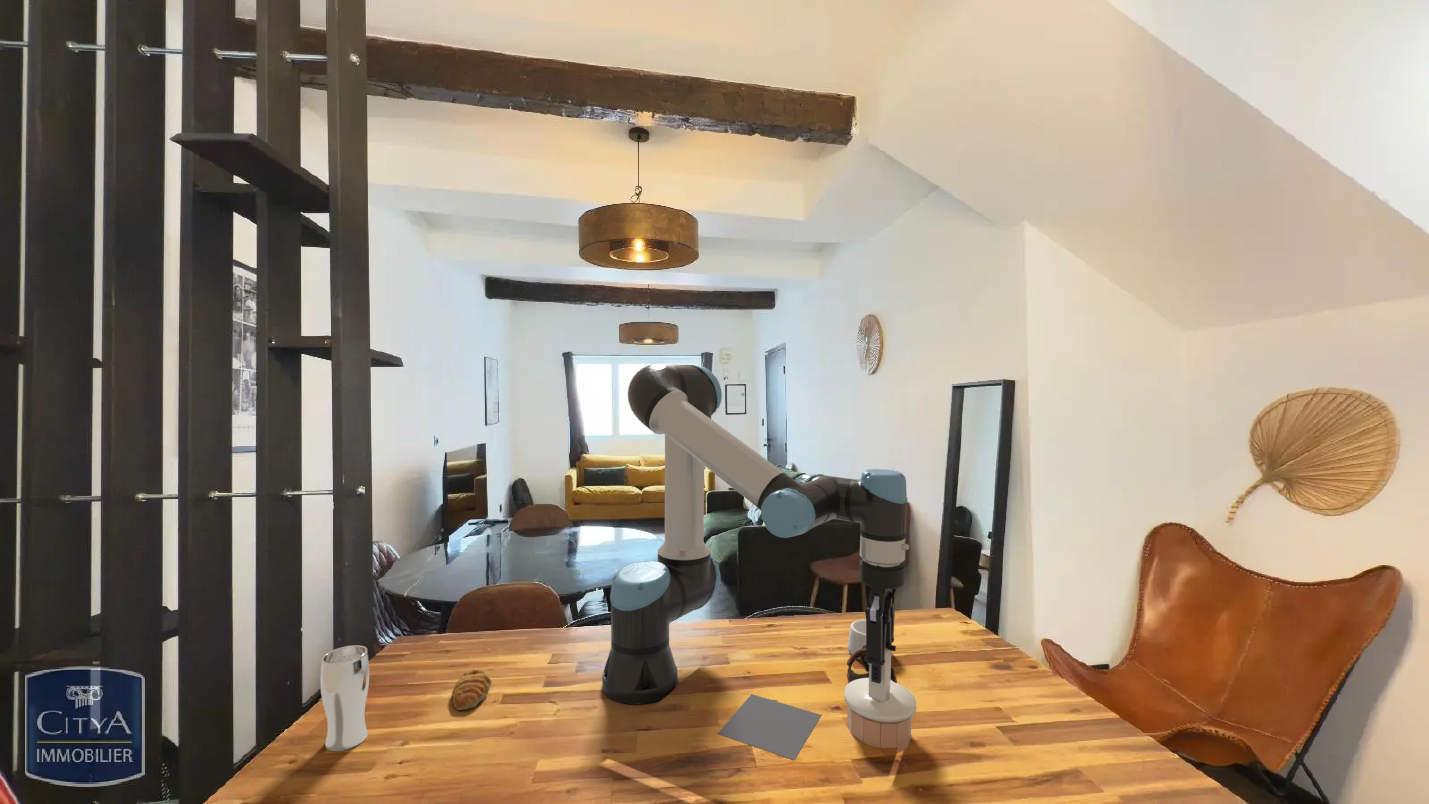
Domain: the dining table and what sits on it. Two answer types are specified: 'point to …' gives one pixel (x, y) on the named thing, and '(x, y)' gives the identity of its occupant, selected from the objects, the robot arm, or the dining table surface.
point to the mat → (771, 726)
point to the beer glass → (345, 696)
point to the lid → (891, 710)
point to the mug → (857, 636)
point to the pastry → (471, 689)
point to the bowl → (880, 731)
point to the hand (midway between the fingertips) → (879, 692)
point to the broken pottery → (862, 653)
